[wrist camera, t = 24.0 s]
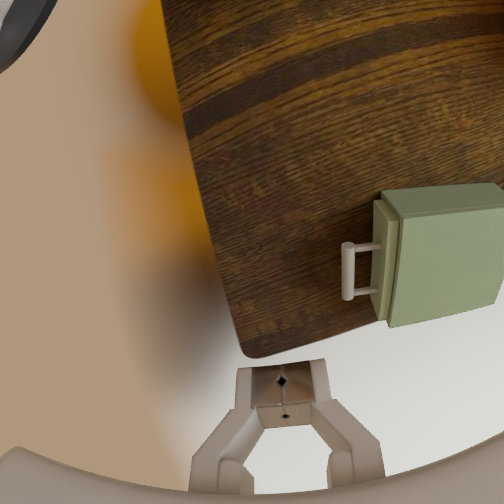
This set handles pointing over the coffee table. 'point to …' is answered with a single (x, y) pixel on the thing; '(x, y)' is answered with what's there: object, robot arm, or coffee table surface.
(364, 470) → the robot arm
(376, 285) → the drawer
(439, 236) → the cabinet
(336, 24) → the coffee table surface
